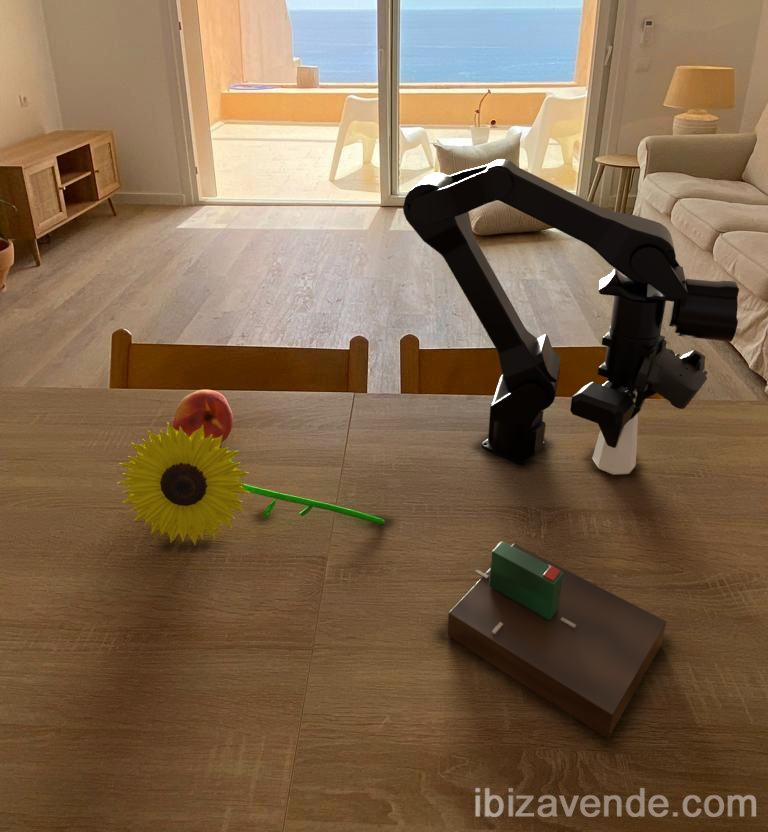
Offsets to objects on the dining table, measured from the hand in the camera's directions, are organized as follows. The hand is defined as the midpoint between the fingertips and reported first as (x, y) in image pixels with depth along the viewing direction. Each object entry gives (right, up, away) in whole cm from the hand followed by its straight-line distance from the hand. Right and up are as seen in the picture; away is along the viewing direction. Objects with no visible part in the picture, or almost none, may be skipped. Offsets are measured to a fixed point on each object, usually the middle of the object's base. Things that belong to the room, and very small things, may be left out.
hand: (617, 439), depth 89 cm
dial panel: (-14, -15, -23) cm, 31 cm away
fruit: (-54, -2, +7) cm, 55 cm away
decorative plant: (-44, -9, -9) cm, 46 cm away
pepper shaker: (0, -3, +2) cm, 4 cm away
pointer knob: (-17, -11, -23) cm, 30 cm away
